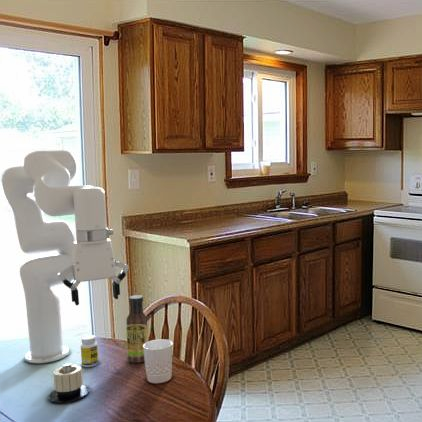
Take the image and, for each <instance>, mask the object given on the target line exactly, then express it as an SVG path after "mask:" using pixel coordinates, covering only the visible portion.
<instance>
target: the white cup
mask: <svg viewBox="0 0 422 422" xmlns="http://www.w3.org/2000/svg"><path fill="white" fill-rule="evenodd" d="M143 351H144V361H143V362H144V367H145V372H146V374H145V375H146V380H147V382H149V384H163V383H166V382H169V381H170V380H171V379H172V378H173V369H172V368H173V342H172V340H170V339H165V338H158V339H152V340H148V342H146V343H145V344H144V345H143Z"/></svg>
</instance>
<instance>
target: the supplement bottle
mask: <svg viewBox="0 0 422 422" xmlns="http://www.w3.org/2000/svg"><path fill="white" fill-rule="evenodd" d="M80 355H81V357H80V358H81V359H80V360H81V367H84V368H90V367H91V368H93V367H95V366H97V365H99V349H98V343H97V336H96V335H94V334H90V335H84V336H82V337H81V344H80Z"/></svg>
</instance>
